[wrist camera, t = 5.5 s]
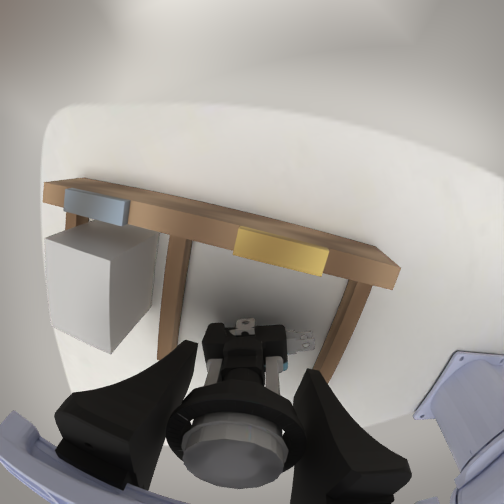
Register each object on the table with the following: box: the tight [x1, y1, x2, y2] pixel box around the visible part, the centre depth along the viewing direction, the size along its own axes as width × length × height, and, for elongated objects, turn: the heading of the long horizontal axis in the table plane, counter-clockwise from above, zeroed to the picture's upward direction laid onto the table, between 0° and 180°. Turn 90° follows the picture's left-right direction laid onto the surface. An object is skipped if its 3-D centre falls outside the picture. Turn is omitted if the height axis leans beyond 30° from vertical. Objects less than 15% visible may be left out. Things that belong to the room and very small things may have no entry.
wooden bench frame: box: [43, 178, 401, 384], centre depth 16 cm, size 20×11×5 cm, turn 77°
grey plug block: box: [45, 220, 160, 354], centre depth 15 cm, size 4×6×6 cm
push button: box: [165, 318, 315, 489], centre depth 12 cm, size 7×5×10 cm
